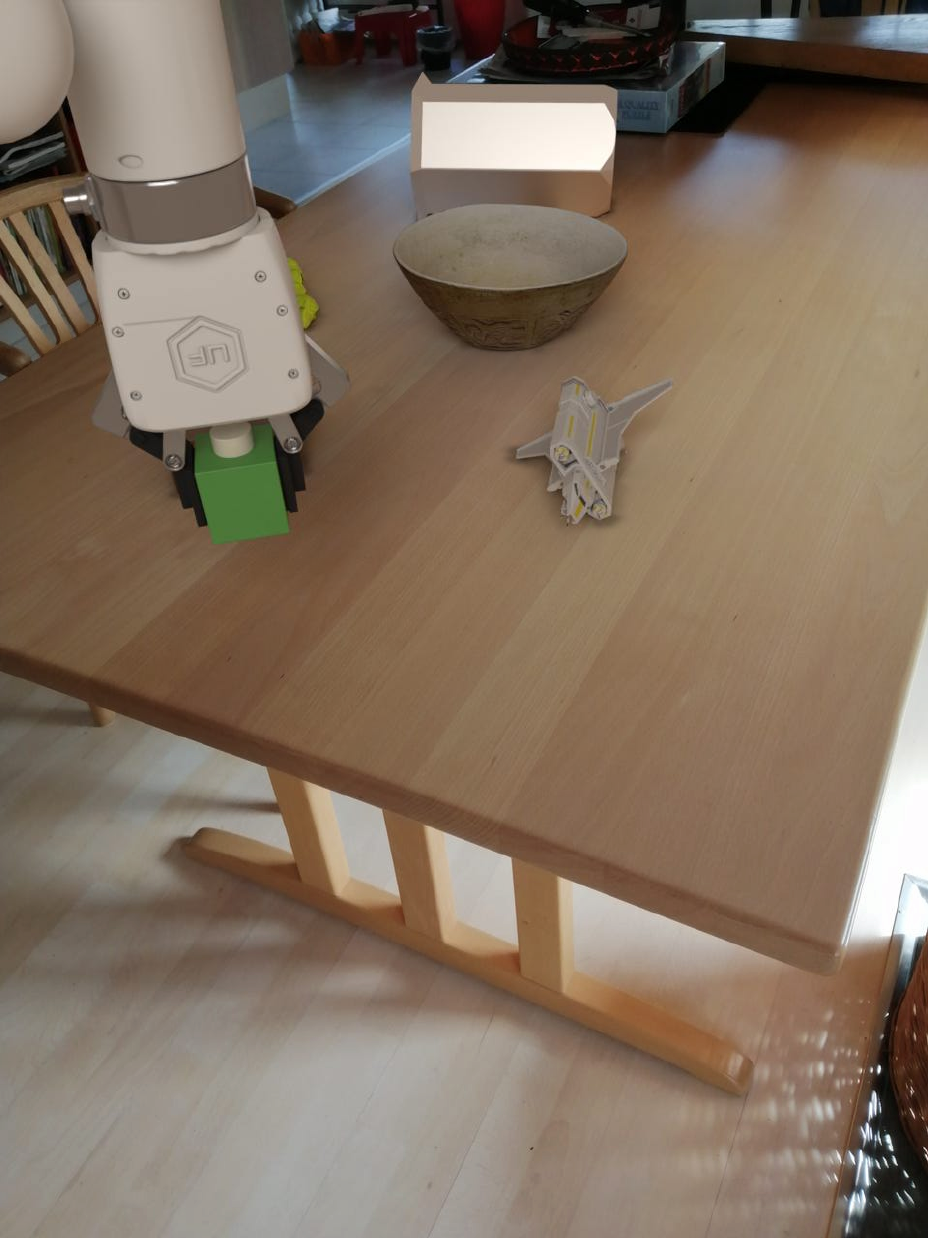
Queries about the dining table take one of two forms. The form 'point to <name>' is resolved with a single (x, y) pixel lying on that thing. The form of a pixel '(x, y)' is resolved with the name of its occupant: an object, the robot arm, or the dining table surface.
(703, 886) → the dining table surface
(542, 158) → the white boxy piece
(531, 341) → the bowl
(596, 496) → the toy spacecraft
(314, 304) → the dinosaur figurine
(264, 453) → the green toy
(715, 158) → the dining table surface
